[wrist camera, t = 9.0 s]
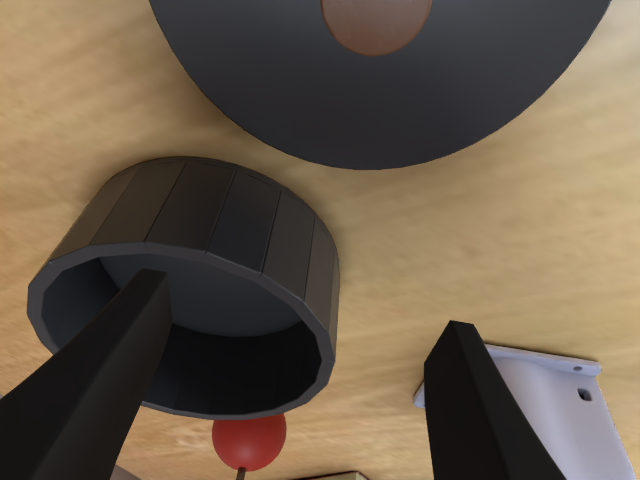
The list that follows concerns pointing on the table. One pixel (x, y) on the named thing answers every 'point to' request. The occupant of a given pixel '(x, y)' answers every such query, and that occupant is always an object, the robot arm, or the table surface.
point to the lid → (375, 69)
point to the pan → (205, 284)
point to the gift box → (343, 477)
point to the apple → (249, 442)
